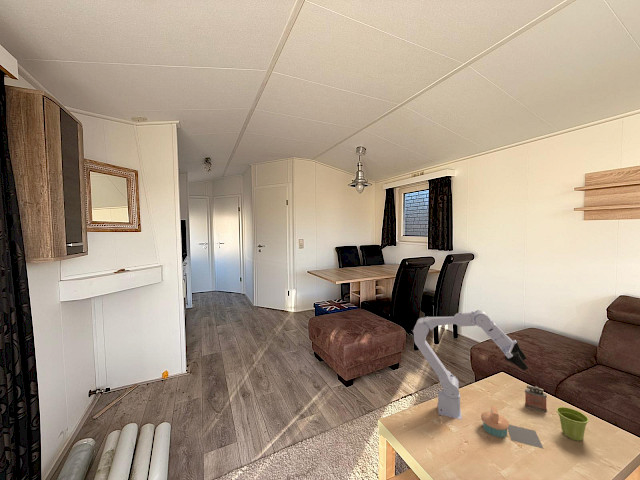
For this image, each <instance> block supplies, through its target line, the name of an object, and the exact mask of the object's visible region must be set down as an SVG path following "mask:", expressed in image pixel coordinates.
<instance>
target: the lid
mask: <svg viewBox="0 0 640 480" xmlns="http://www.w3.org/2000/svg"><path fill="white" fill-rule="evenodd" d="M480 419H481V421H482V423H483V422H484V423H485V424H486V425H488V426H490V427H492V428H494V429H498V430H506V429H507V430H508V428H509V425H510V423H509V421H508V420H507V419H506V418H505V417H504V416H502V415H500V414H499V412H498V408H497V407H496V406H493V405H491V406H490V411H484V412H482V413H481V415H480Z"/></svg>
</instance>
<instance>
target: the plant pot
mask: <svg viewBox="0 0 640 480" xmlns="http://www.w3.org/2000/svg"><path fill="white" fill-rule="evenodd" d="M556 413H557V414H558V417H559V421H560V425H561V426H560V427H561V431H562V434H563V435H564V436H565V437H568V438H569V439H571V440H574V441H578V442H580V441H582V440H584V437H585V430H586V425H587V424H588V423H589V421H590V419H589V417H588V416H587V415H586V414H584V413H583V412H581V411H578V410H577V409H574V408H571V407H566V406H559V407H556Z"/></svg>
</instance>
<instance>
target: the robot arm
mask: <svg viewBox="0 0 640 480" xmlns="http://www.w3.org/2000/svg"><path fill="white" fill-rule="evenodd" d="M449 325H456V326H457V327H475V326H477V327H479V328H480V329H482V331H483V332H484V333H485V334H486V335H487V336H488V337H489V338H490V339H491V340H492V341H493V342H494V344H496V346H497V347H498V348H499V349H500V351H501V352H502V353H503V354H504V360H506V362H510V363H511V364H513V365H515V366H516V367H517V368H518V369H521V370H522V371H525V370H528V369H529V367H528V365H527V364H526V363H525V360H527V356H526V355H525V353H524V352H523V350H522V348H521V347H520V344H519V343H518V341H517V339H514V340H512V338H510V336H508V335H507V333H505V332H504V331H503V330H502V329H501V328H500V327H499V326H498V325H497V324H496V323H495V322H494V321H493V320H492V319H491V318H489V316H488V314H487V312H486V311H483V310H475V311H471V312H462V311H458V312H457V313H455V314H454V316H453V315H452V316H425V317H420V318H418V319H417V320H416V323H415V325H414V327H413V329H412V330H413V331H412V332H413V341H414V344H415V346H416V347H417V348H418V350H419V351H420V352H421V354H422V356H423V357H424V359H425V360H426V361H427V363H428V364H429V366H430V367H431V368H432V370H433V372H434V373H435V374H436V376H437V377H438V380H439V384H440V385H441V386H442V390H438V391H437V393H438V394H437V395H438V396H437V399H438V400H437V409H438V410H437V412H438V413H437V414H438V415H439V416H446V417H449V418H454V419H458V420H460V421H462V420H463V419H462V418H463V417H462V410H461V394H460V389H459V388H460V387H459V386H460V382H459V379H458V378H457V377H456V376H455V375H454V374H452V373H451V370H448V369H447V368H446V367H445V365H444V363H442V361H441V360H440V358H439V357H438V355H437V353H435V351H434V349H432V347H431V345H430V344H429V343H428V341H427V340H426V339H427V336H428V334H429V332H430V331H432V330H433V329H435V328H436V327H437V326H449Z"/></svg>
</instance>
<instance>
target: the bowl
mask: <svg viewBox="0 0 640 480" xmlns="http://www.w3.org/2000/svg"><path fill="white" fill-rule="evenodd" d="M482 427H483V430H484V431H486V433H488V434H490V435H491V436H494V437H498V438H504V437H507V436H508V429H506V430H498V429H494V428H492V427H490V426H488V425H486V424H485V423H484V422H483V421H482Z"/></svg>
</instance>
